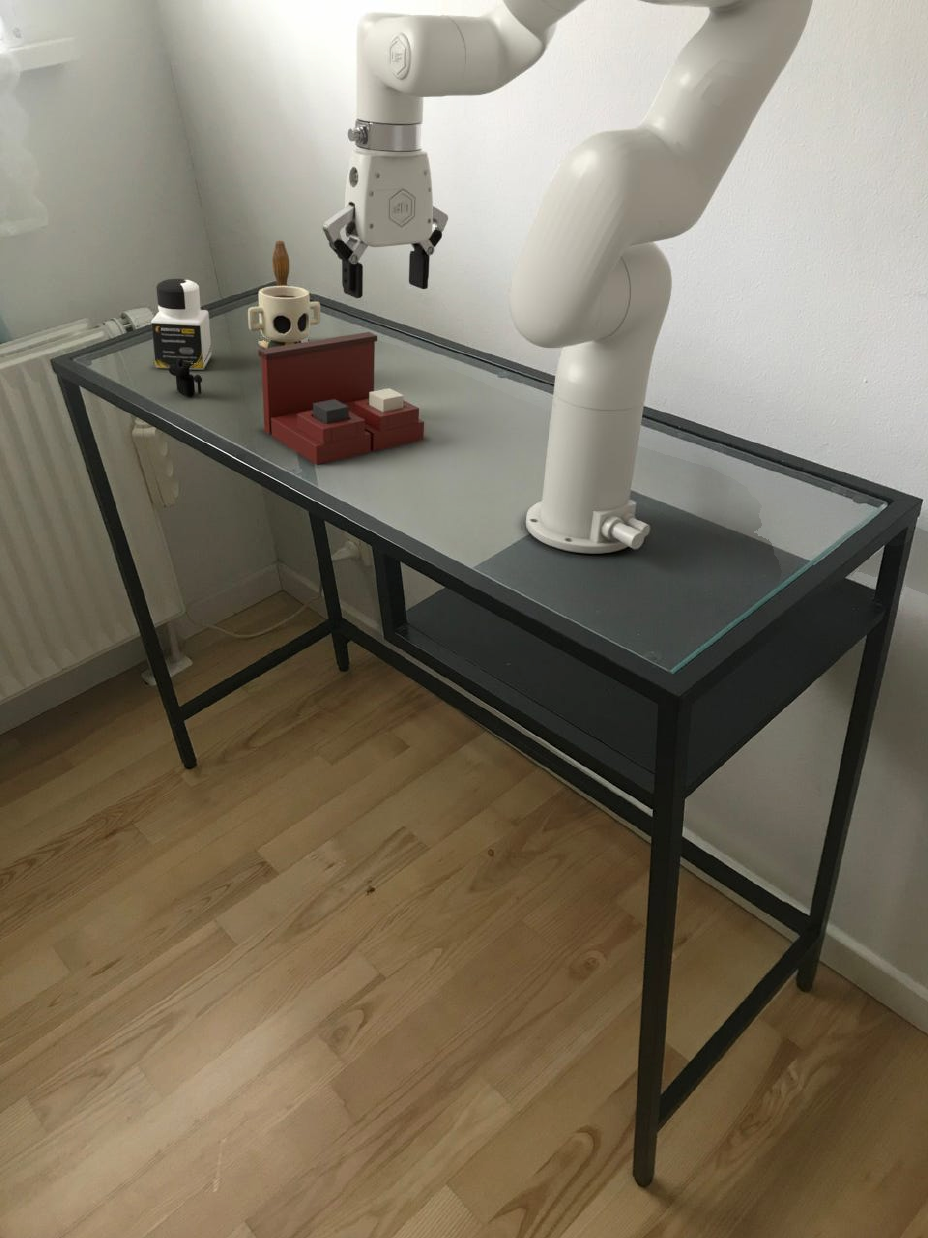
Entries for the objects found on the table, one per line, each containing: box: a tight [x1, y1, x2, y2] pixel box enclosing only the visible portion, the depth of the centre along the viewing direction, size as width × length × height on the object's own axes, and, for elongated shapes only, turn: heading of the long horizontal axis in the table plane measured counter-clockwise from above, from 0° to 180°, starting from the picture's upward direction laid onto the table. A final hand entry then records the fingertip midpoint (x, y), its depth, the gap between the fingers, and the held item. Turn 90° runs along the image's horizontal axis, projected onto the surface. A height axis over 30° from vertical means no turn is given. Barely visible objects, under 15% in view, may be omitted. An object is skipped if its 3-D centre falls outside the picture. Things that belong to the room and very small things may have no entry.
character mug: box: [247, 285, 321, 348], centre depth 150 cm, size 11×7×13 cm, turn 121°
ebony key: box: [313, 399, 349, 425], centre depth 129 cm, size 3×3×2 cm
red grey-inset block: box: [271, 410, 372, 466], centre depth 132 cm, size 11×8×4 cm
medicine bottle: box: [150, 278, 212, 371], centre depth 155 cm, size 7×7×12 cm
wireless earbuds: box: [168, 358, 203, 398], centre depth 144 cm, size 7×2×5 cm, turn 49°
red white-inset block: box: [343, 398, 425, 452], centre depth 137 cm, size 11×8×4 cm
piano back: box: [257, 331, 378, 435], centre depth 137 cm, size 2×17×11 cm, turn 129°
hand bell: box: [258, 240, 290, 349], centre depth 164 cm, size 8×8×16 cm
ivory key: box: [369, 387, 405, 412], centre depth 134 cm, size 3×3×2 cm
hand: (386, 290), depth 127 cm, fingers open, 9 cm apart
